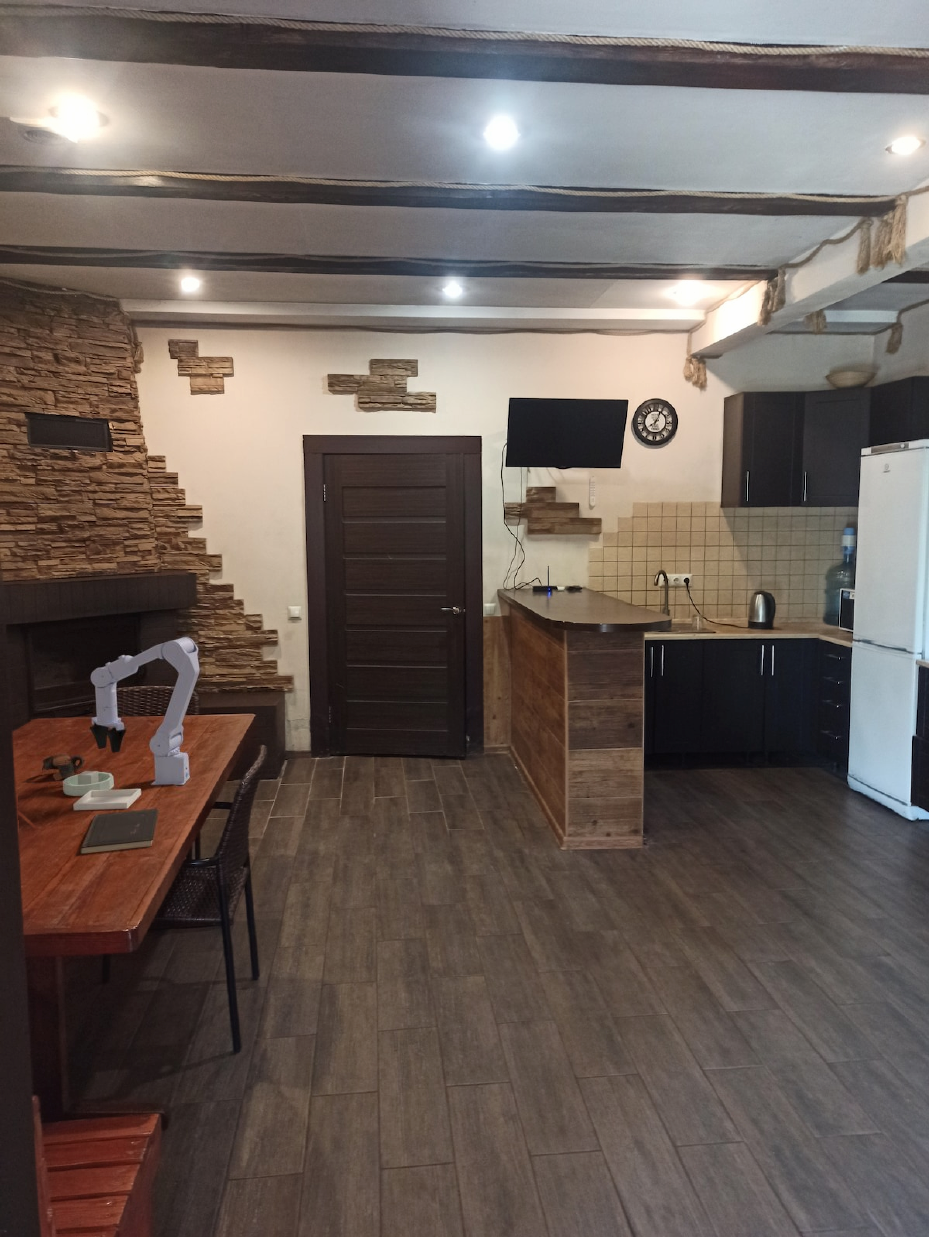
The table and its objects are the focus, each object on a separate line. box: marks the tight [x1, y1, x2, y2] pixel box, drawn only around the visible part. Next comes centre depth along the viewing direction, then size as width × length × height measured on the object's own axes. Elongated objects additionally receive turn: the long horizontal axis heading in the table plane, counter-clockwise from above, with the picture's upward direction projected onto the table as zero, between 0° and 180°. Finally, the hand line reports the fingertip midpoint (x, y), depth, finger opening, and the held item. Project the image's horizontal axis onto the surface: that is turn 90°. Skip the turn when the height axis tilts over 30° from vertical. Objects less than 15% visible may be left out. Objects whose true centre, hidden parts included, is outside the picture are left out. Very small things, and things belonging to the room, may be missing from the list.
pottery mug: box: [41, 752, 86, 782], centre depth 252 cm, size 12×10×8 cm
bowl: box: [62, 771, 115, 797], centre depth 237 cm, size 13×13×4 cm
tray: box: [73, 788, 142, 811], centre depth 225 cm, size 14×12×2 cm
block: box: [77, 770, 99, 785], centre depth 237 cm, size 4×4×5 cm
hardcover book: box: [79, 808, 160, 855], centre depth 203 cm, size 16×23×2 cm
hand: (109, 750), depth 246 cm, fingers open, 7 cm apart
